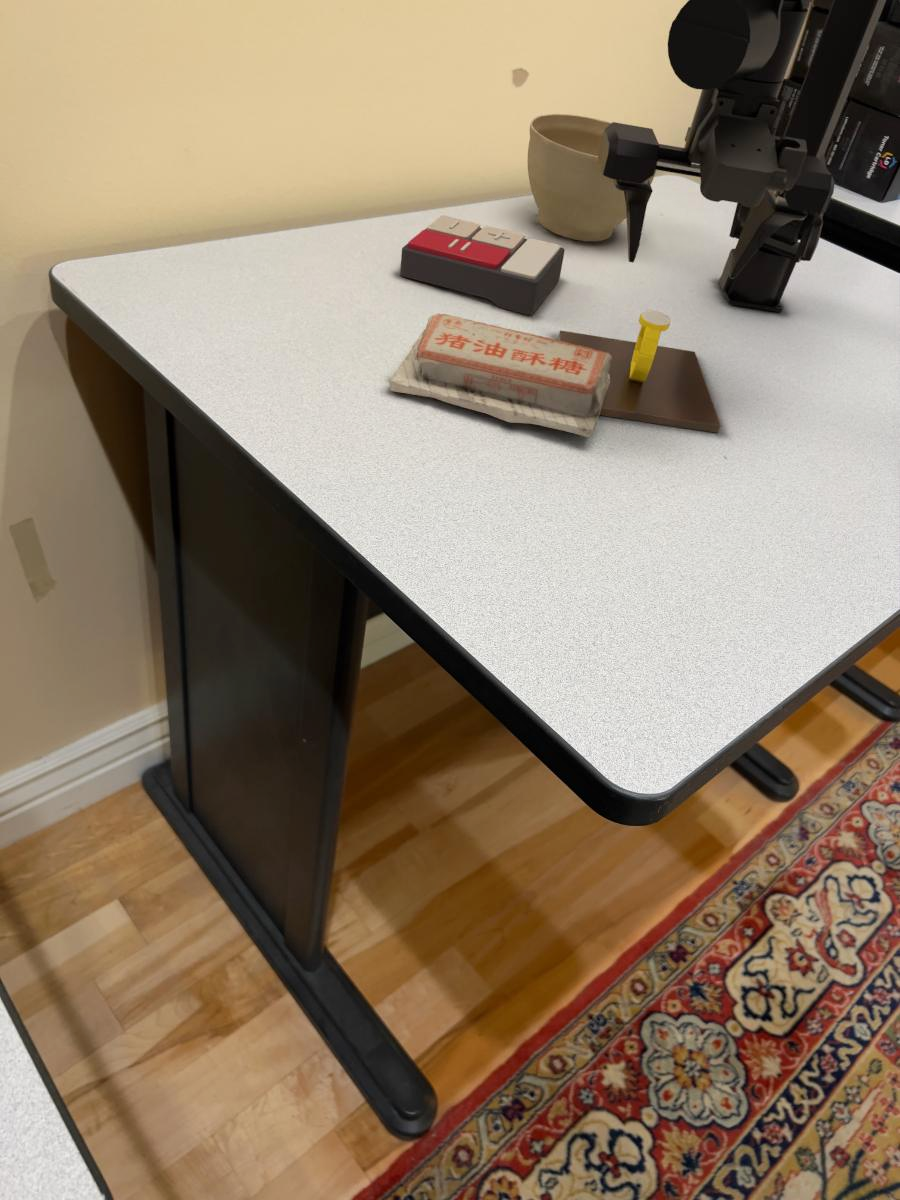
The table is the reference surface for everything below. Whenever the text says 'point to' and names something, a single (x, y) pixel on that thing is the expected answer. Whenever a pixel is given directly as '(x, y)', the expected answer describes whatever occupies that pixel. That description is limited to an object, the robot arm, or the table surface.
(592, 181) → the planter bowl
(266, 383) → the table surface
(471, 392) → the packaged product
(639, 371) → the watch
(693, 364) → the coaster
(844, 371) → the table surface
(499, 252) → the calculator
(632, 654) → the table surface
